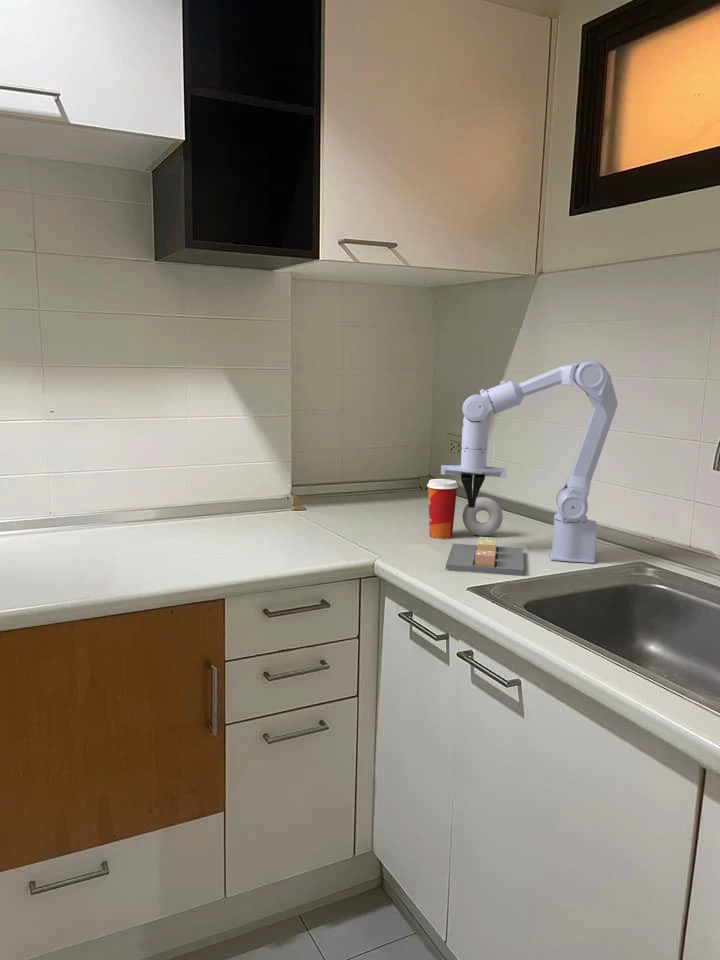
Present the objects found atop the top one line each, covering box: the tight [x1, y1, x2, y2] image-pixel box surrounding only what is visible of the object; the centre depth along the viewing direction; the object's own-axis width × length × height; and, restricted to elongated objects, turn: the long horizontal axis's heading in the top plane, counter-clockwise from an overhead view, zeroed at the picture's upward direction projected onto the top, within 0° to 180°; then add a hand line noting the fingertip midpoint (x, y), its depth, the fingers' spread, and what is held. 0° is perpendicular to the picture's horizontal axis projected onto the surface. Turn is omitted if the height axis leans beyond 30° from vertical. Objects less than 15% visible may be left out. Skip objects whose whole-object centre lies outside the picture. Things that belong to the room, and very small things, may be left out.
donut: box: [461, 496, 504, 537], centre depth 186 cm, size 10×4×10 cm, turn 84°
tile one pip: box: [478, 536, 498, 546], centre depth 170 cm, size 4×4×3 cm
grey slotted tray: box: [445, 543, 524, 577], centre depth 164 cm, size 16×18×1 cm
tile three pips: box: [474, 550, 496, 567], centre depth 158 cm, size 4×4×3 cm
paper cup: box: [426, 478, 459, 540], centre depth 185 cm, size 8×8×14 cm
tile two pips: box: [476, 539, 497, 556], centre depth 164 cm, size 4×4×3 cm
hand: (471, 506), depth 171 cm, fingers closed
